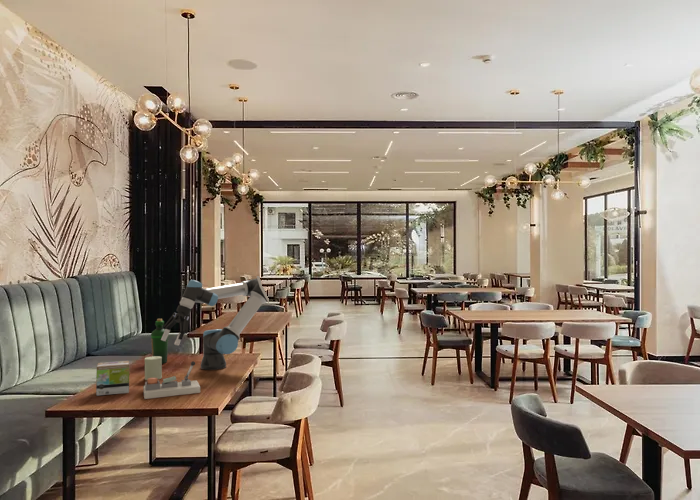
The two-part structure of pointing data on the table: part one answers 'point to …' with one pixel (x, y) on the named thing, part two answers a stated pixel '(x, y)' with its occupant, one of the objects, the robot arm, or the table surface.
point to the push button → (152, 380)
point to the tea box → (112, 378)
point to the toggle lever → (189, 370)
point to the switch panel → (170, 388)
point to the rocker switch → (169, 379)
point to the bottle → (159, 341)
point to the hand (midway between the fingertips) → (169, 342)
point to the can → (153, 367)
